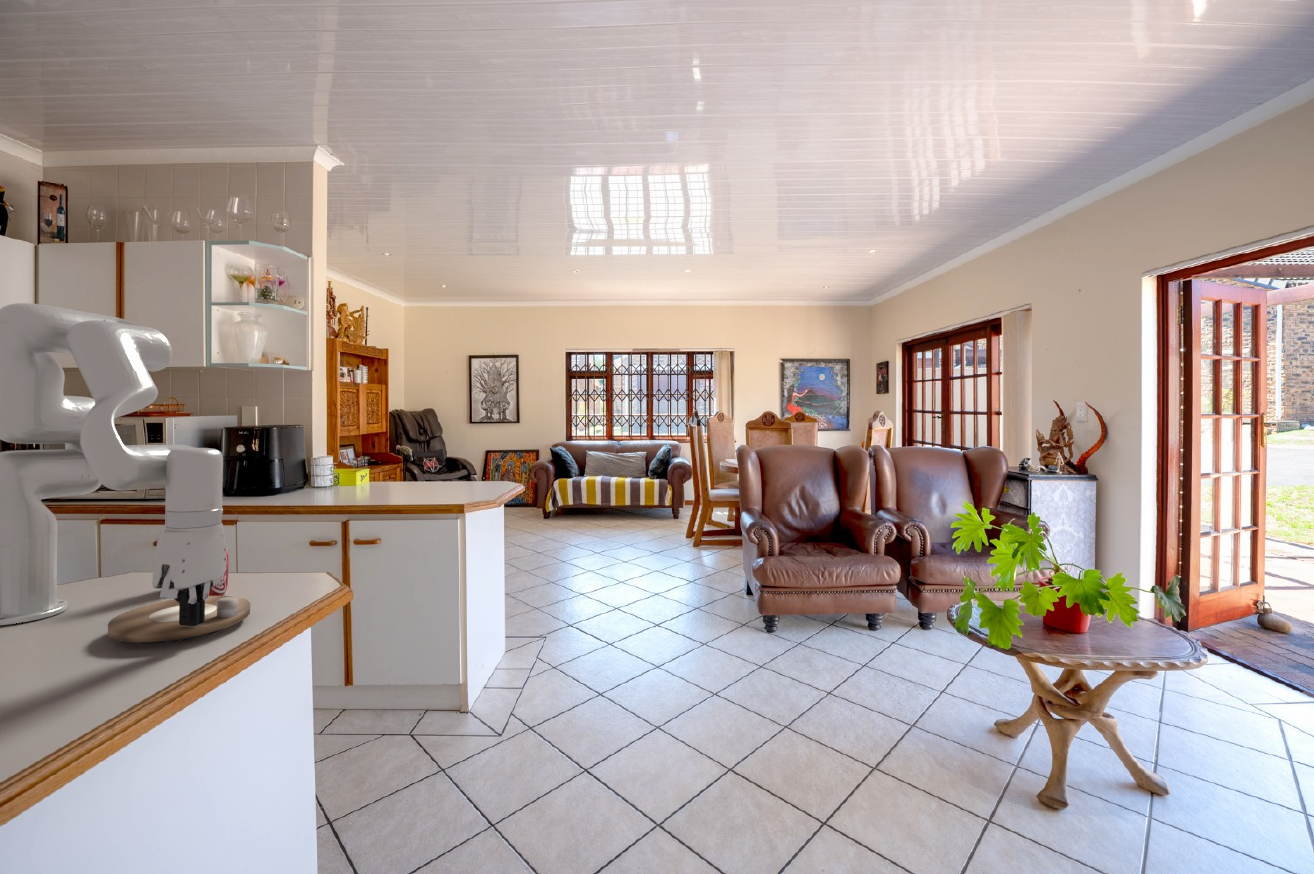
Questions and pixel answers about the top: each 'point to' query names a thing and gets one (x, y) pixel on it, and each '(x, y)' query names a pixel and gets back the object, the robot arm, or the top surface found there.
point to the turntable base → (180, 639)
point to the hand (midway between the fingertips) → (191, 623)
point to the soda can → (221, 583)
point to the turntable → (176, 620)
